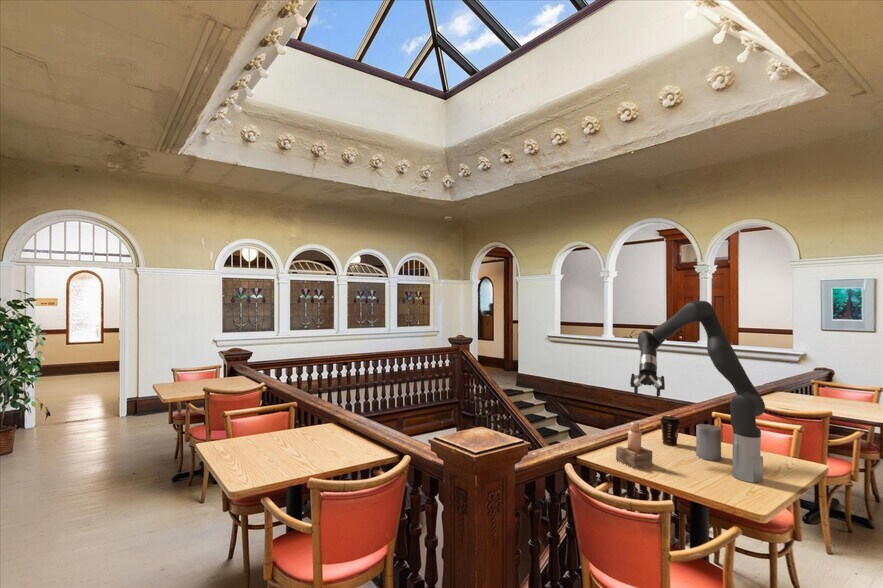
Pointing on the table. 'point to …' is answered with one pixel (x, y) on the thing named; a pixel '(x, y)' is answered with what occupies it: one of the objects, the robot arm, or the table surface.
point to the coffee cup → (670, 430)
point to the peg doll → (634, 438)
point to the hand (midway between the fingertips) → (646, 395)
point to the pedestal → (634, 457)
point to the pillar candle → (708, 442)
